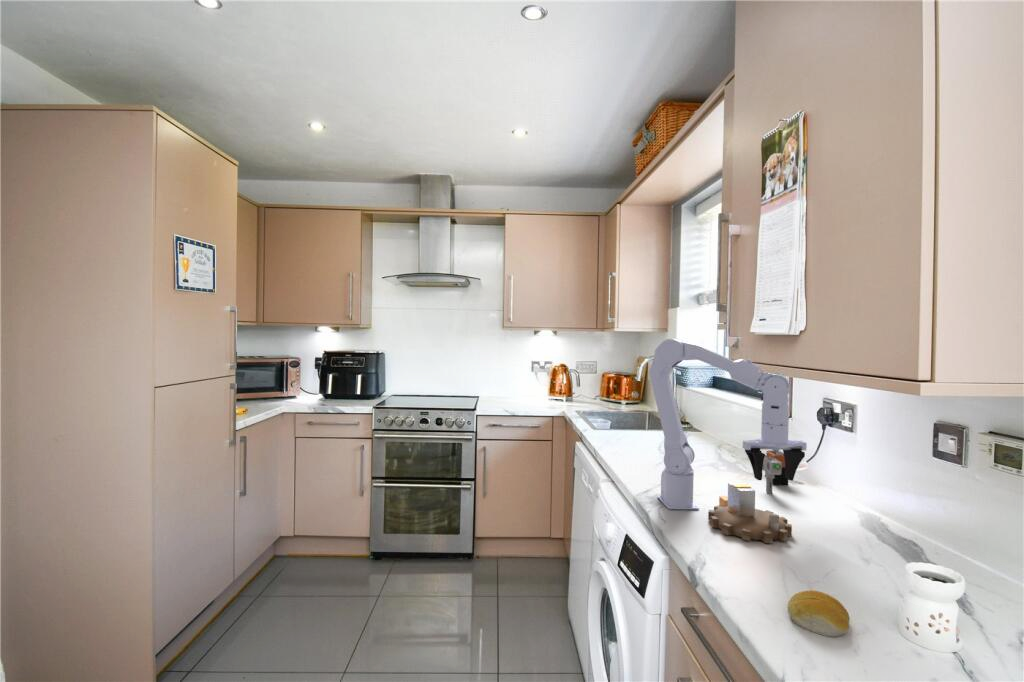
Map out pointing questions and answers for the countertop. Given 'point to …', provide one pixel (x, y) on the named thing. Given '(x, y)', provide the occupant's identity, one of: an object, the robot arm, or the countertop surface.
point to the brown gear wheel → (751, 524)
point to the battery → (781, 478)
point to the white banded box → (741, 499)
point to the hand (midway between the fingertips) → (773, 479)
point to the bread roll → (819, 613)
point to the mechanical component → (771, 471)
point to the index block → (723, 501)
